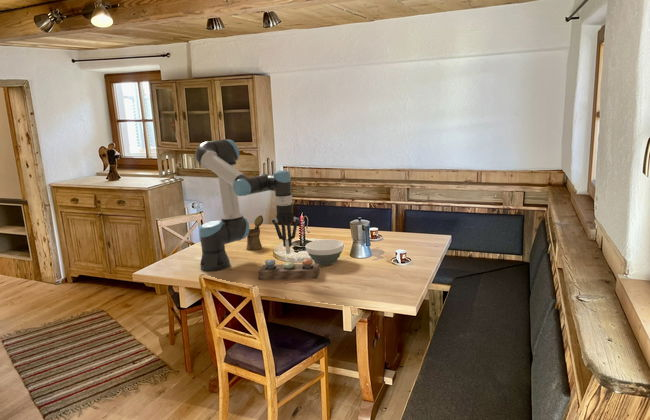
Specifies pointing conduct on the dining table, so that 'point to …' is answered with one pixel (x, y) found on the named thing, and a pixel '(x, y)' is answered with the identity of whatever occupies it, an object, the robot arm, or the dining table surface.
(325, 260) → the bowl
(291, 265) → the sage button
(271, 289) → the dining table surface
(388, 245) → the dining table surface
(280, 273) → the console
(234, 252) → the dining table surface
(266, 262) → the slate button
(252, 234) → the brown lidded stein
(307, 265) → the rust button
